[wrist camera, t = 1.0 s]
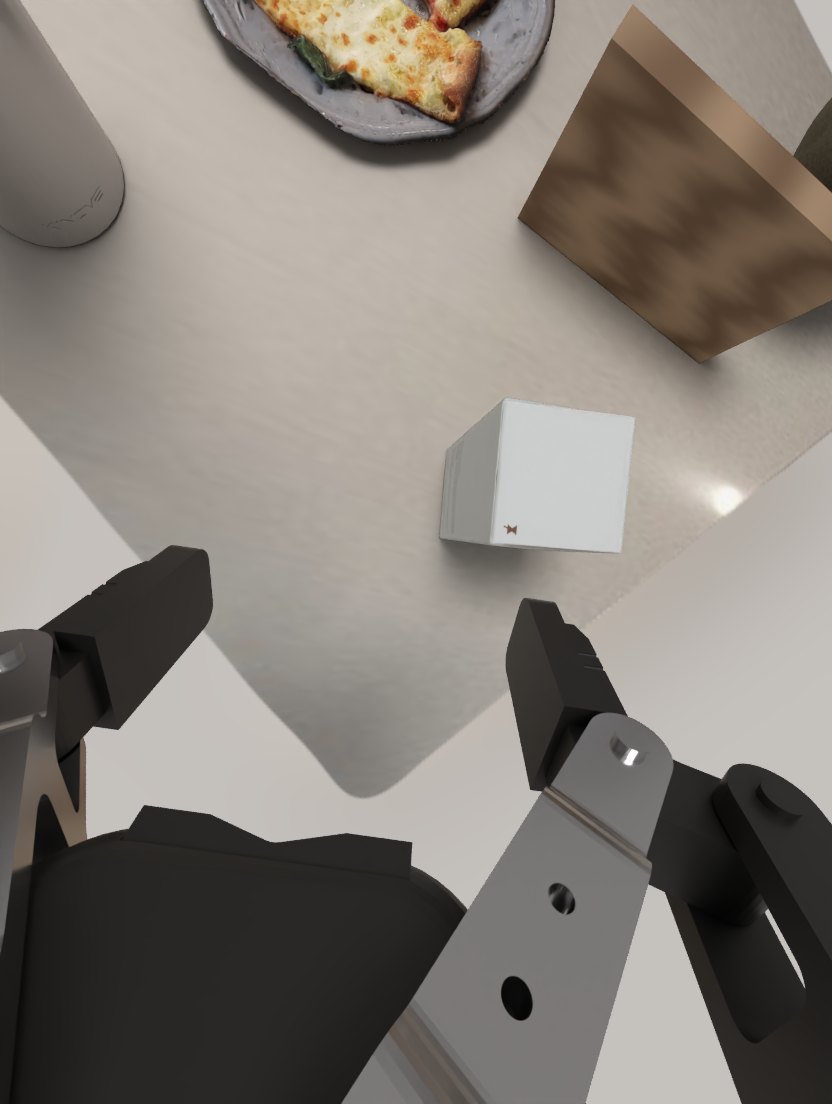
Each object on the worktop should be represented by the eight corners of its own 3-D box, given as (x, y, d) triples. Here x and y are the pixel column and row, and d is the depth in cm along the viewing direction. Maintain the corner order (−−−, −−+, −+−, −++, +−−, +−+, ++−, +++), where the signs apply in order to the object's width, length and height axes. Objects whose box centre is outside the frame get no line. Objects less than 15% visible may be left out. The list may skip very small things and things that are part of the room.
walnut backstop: (517, 217, 32) (611, 38, 20) (531, 196, 32) (632, 4, 20) (699, 363, 35) (874, 280, 23) (711, 343, 35) (892, 250, 23)
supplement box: (525, 547, 34) (624, 559, 22) (436, 538, 33) (485, 547, 20) (535, 456, 34) (641, 415, 21) (446, 444, 33) (501, 394, 20)
